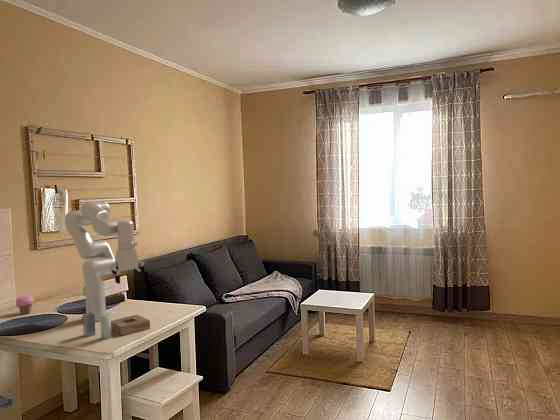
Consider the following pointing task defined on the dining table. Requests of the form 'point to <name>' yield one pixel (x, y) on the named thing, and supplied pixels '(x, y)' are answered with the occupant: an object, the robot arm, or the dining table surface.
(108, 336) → the round peg
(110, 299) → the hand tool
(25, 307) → the cupcake
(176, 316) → the dining table surface
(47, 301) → the dining table surface
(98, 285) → the robot arm
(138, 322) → the socket block
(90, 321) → the square peg
